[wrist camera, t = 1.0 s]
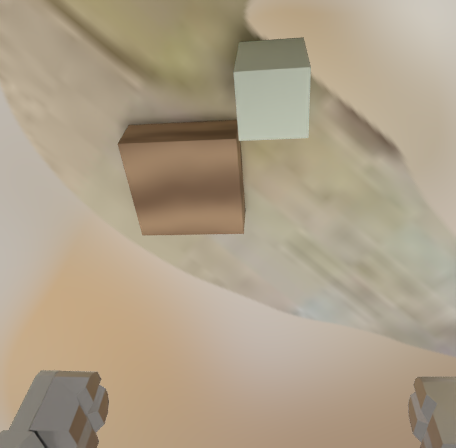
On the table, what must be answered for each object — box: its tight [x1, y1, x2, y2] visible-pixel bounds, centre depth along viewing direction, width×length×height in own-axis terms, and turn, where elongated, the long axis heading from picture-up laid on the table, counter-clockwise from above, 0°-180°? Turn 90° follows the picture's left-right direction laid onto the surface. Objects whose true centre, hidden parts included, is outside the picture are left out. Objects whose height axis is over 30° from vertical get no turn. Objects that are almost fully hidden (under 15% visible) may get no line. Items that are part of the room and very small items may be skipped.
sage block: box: [234, 38, 311, 141], centre depth 32 cm, size 5×5×7 cm
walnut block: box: [118, 120, 245, 235], centre depth 40 cm, size 10×10×4 cm
